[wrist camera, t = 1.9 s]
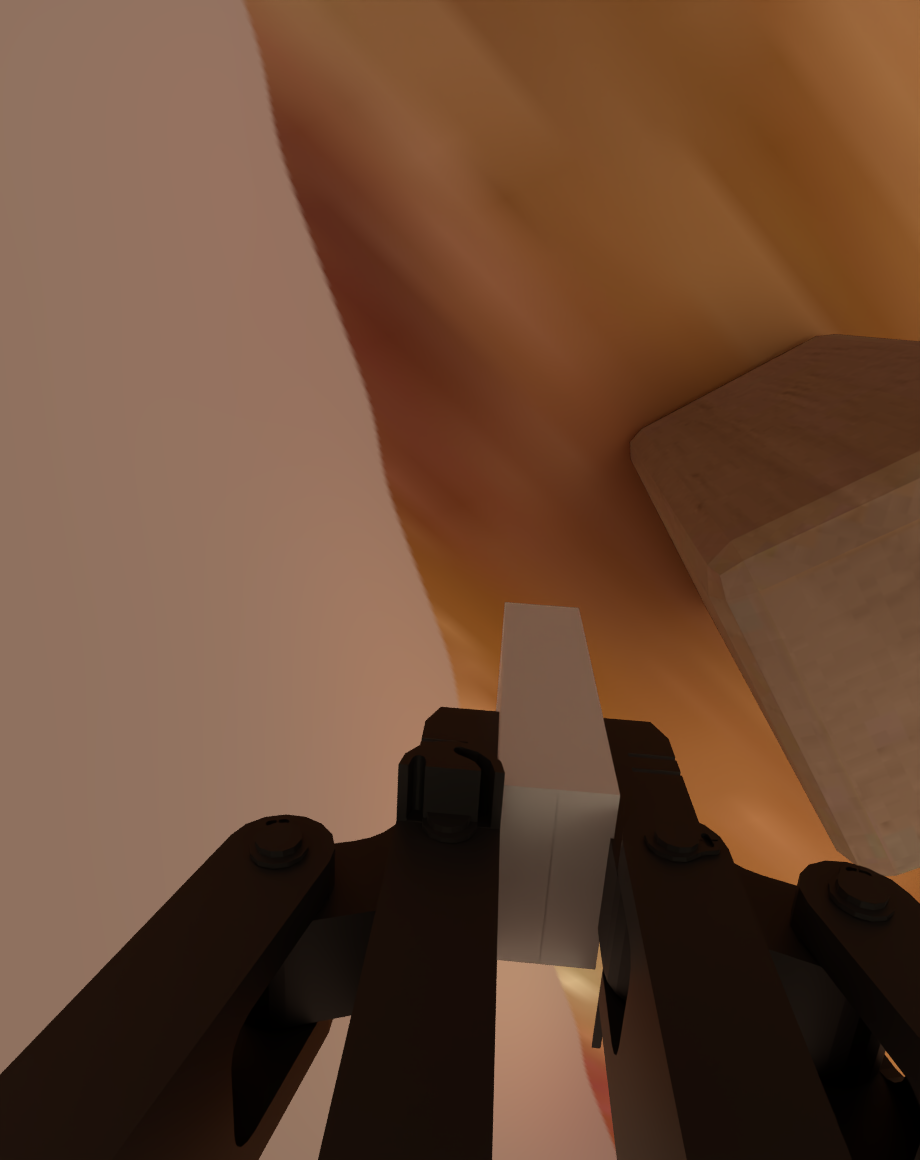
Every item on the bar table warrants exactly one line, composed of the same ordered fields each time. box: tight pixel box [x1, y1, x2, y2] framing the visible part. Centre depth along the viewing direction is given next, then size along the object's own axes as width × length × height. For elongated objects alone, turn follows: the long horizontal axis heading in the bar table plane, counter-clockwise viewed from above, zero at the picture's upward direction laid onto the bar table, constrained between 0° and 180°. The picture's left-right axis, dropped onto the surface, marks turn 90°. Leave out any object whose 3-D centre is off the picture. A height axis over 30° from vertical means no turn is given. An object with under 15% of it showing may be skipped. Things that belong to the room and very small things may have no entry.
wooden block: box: [630, 334, 920, 876], centre depth 27 cm, size 10×10×20 cm
